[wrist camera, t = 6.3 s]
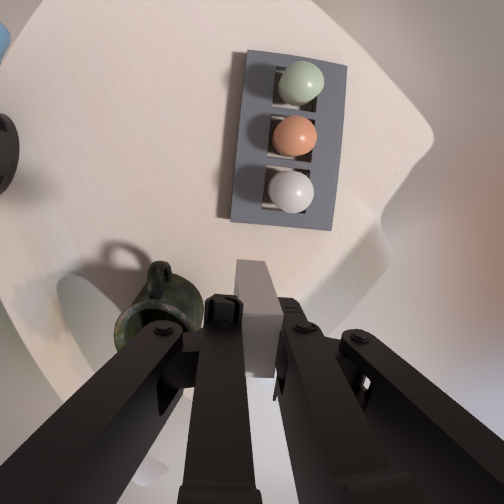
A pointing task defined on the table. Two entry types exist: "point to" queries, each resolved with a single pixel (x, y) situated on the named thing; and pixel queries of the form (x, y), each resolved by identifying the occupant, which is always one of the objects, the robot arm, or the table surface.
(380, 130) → the table surface
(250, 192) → the button board
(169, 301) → the mug
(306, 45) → the table surface
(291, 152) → the terracotta button
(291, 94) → the sage button
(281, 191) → the grey button
